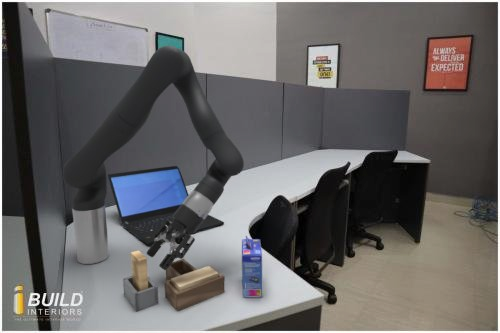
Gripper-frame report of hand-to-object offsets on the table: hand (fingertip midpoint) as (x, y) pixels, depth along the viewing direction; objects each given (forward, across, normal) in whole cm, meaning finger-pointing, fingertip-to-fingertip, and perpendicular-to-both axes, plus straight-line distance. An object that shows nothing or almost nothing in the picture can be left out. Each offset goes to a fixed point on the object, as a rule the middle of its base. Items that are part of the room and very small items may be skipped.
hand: (155, 261), depth 87 cm
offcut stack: (+1, +7, +12) cm, 14 cm away
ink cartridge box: (-9, +13, +22) cm, 27 cm away
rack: (+1, +3, +12) cm, 12 cm away
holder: (+9, 0, +3) cm, 10 cm away
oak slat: (+9, 0, +3) cm, 10 cm away
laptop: (-10, -48, +24) cm, 54 cm away
